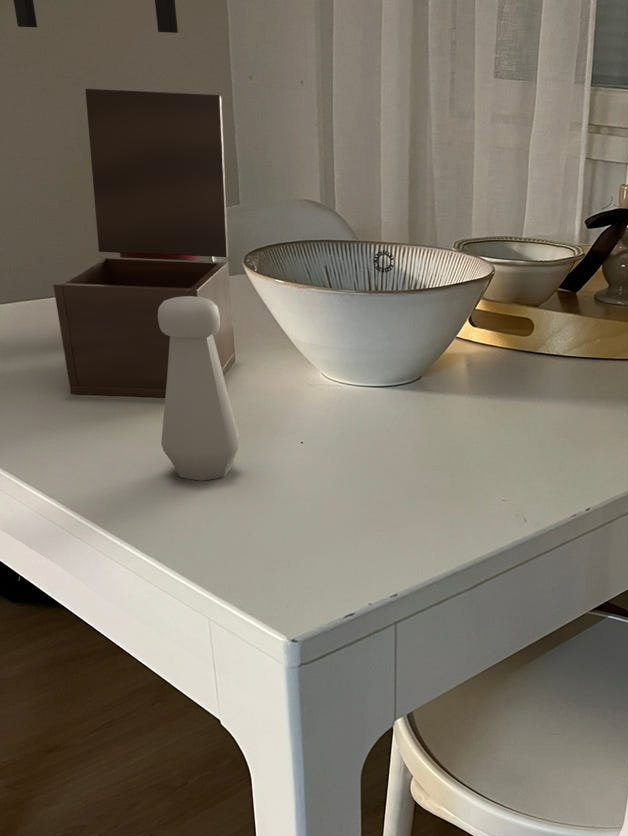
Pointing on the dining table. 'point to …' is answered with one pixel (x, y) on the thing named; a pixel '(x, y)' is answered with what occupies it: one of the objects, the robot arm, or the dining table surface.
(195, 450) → the salt shaker
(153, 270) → the chest
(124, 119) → the chest lid
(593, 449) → the dining table surface
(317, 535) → the dining table surface
